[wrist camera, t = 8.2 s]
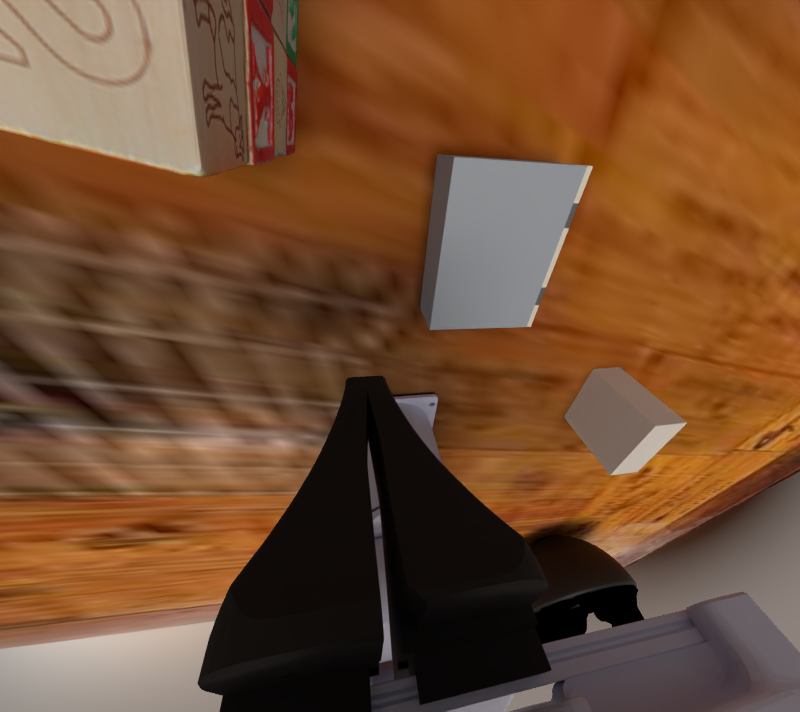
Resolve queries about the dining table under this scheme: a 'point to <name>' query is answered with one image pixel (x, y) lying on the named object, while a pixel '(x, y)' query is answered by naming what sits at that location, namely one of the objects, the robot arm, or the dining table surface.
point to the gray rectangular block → (495, 238)
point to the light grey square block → (621, 420)
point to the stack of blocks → (153, 79)
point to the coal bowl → (581, 588)
